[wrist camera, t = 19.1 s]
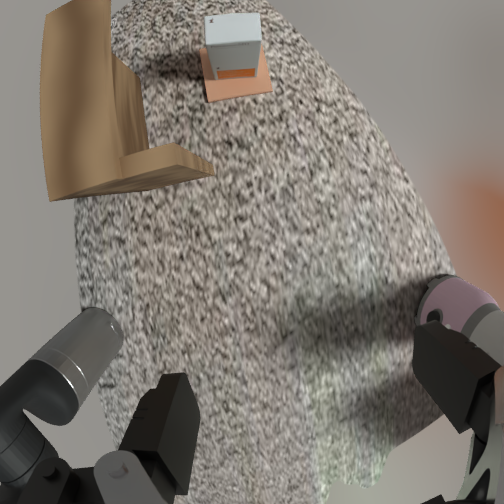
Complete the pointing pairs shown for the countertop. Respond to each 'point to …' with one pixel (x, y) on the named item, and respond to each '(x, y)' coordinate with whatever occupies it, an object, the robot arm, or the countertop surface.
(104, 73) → the walnut cubby
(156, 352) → the countertop surface
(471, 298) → the blender
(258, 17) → the skincare box
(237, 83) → the terracotta tile
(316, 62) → the countertop surface
